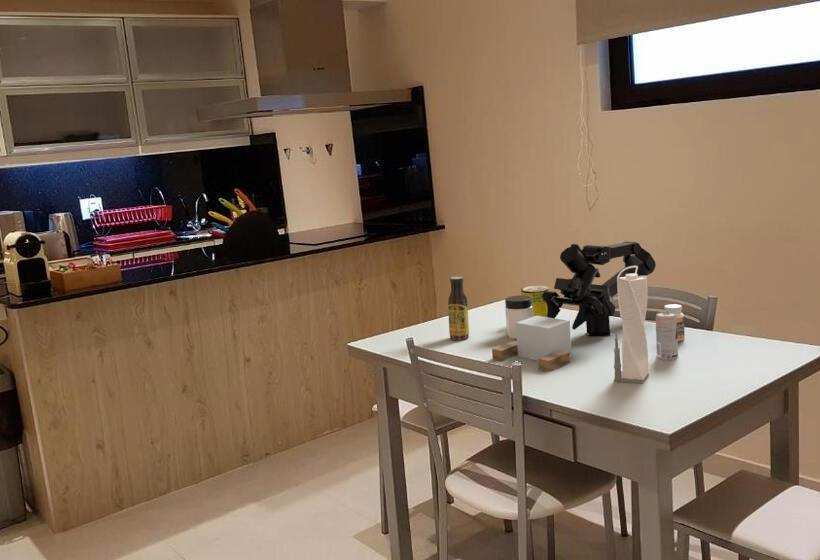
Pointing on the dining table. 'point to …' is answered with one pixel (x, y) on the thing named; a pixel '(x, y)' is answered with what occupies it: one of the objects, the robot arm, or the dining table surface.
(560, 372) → the dining table surface
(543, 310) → the yellow can
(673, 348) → the energy drink
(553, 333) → the block
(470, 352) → the dining table surface
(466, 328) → the sauce bottle
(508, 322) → the jar
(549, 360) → the pair of brown bars
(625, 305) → the skyscraper
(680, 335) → the pill bottle
